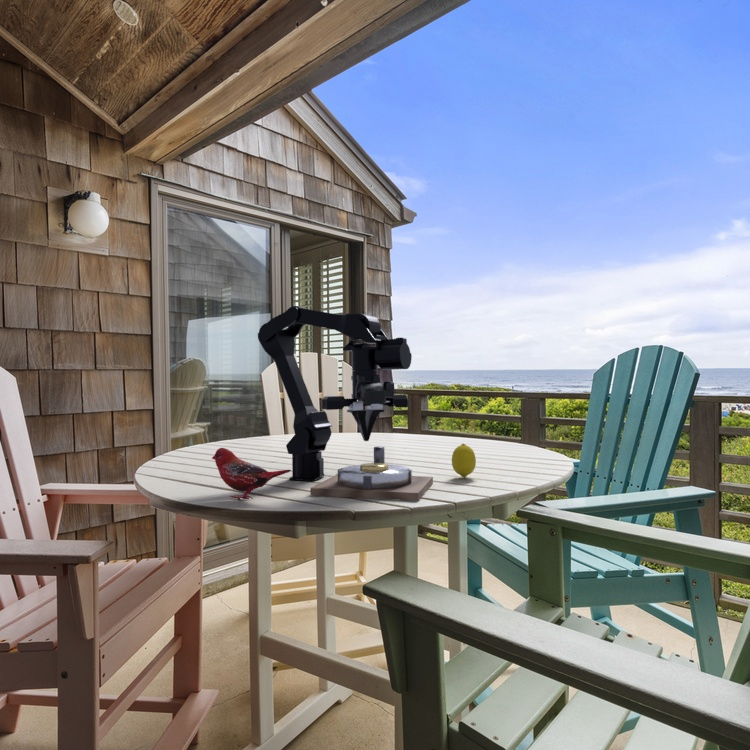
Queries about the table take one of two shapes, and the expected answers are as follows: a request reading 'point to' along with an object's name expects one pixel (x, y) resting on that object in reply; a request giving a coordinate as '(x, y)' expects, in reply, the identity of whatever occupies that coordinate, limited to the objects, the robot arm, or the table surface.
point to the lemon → (463, 460)
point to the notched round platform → (375, 474)
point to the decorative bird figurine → (242, 473)
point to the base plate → (374, 490)
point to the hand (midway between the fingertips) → (366, 440)
